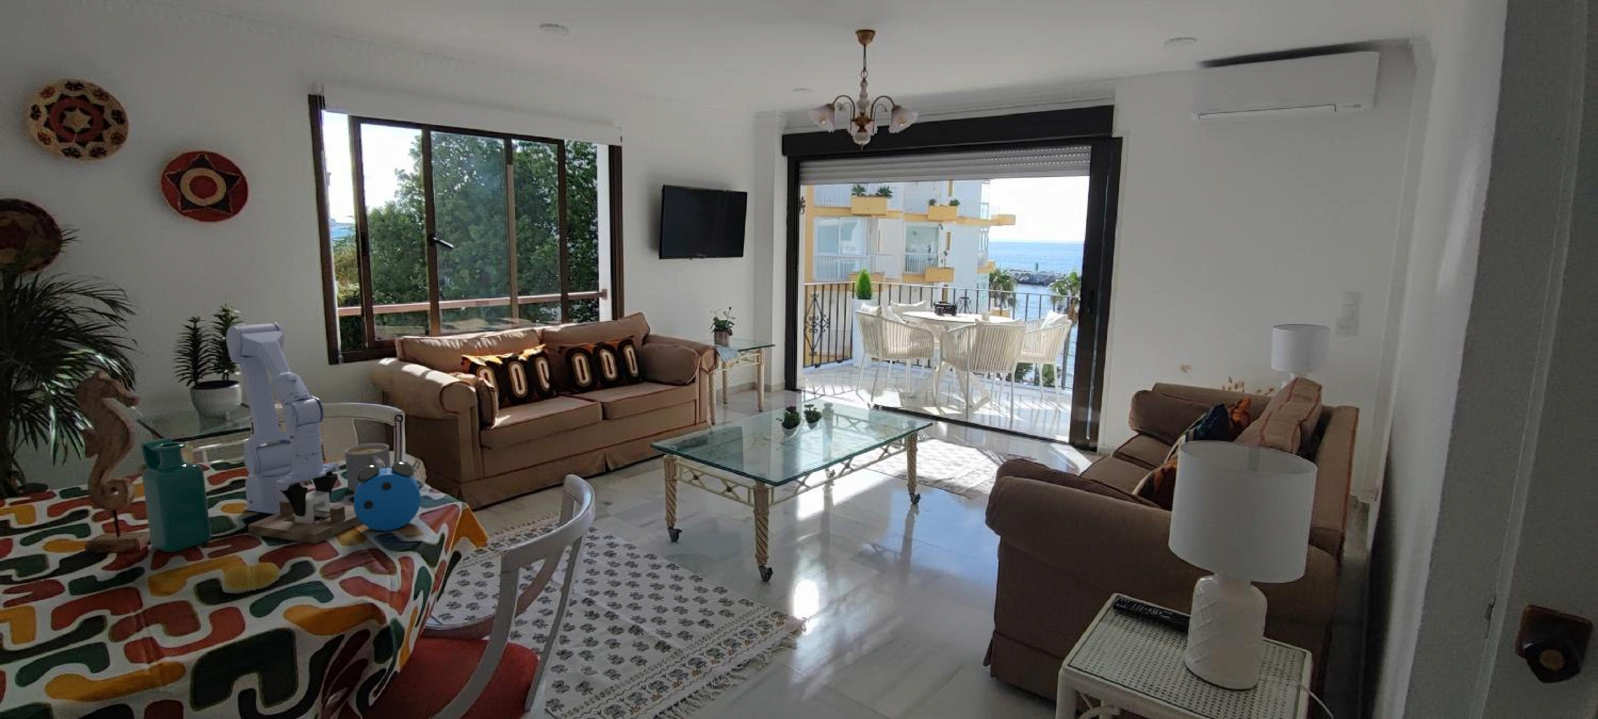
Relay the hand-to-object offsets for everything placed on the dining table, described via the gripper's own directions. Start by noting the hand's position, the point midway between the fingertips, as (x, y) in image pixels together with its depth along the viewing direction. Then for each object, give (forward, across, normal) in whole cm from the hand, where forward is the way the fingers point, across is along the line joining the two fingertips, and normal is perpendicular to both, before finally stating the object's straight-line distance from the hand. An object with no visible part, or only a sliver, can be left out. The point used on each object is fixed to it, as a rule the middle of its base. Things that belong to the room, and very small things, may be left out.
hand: (312, 510), depth 173 cm
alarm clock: (+4, +4, -17) cm, 18 cm away
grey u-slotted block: (+2, 0, 0) cm, 2 cm away
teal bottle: (+4, -16, +18) cm, 24 cm away
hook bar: (0, 0, 0) cm, 0 cm away
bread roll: (+4, -26, -13) cm, 29 cm away
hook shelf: (+3, 0, 0) cm, 3 cm away
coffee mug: (+4, +24, +7) cm, 25 cm away
